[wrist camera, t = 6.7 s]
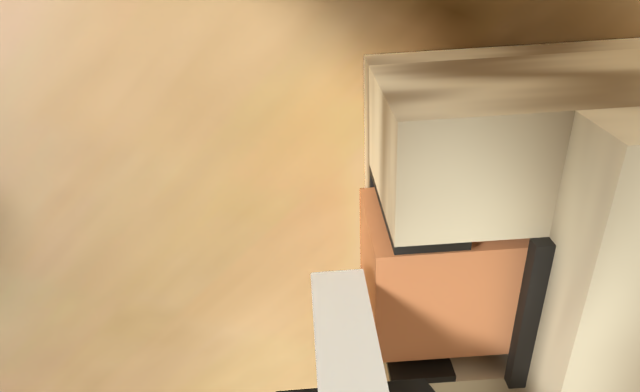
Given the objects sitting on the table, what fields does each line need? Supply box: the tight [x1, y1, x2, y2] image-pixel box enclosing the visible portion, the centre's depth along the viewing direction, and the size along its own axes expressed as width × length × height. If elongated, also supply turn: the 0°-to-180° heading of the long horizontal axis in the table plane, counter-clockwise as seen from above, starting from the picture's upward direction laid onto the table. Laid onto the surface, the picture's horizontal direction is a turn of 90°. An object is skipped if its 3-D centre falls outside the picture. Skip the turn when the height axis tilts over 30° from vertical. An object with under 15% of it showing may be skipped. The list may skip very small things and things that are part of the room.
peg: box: [360, 187, 530, 363], centre depth 16 cm, size 10×4×4 cm, turn 93°
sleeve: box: [364, 38, 640, 392], centre depth 16 cm, size 10×12×8 cm
